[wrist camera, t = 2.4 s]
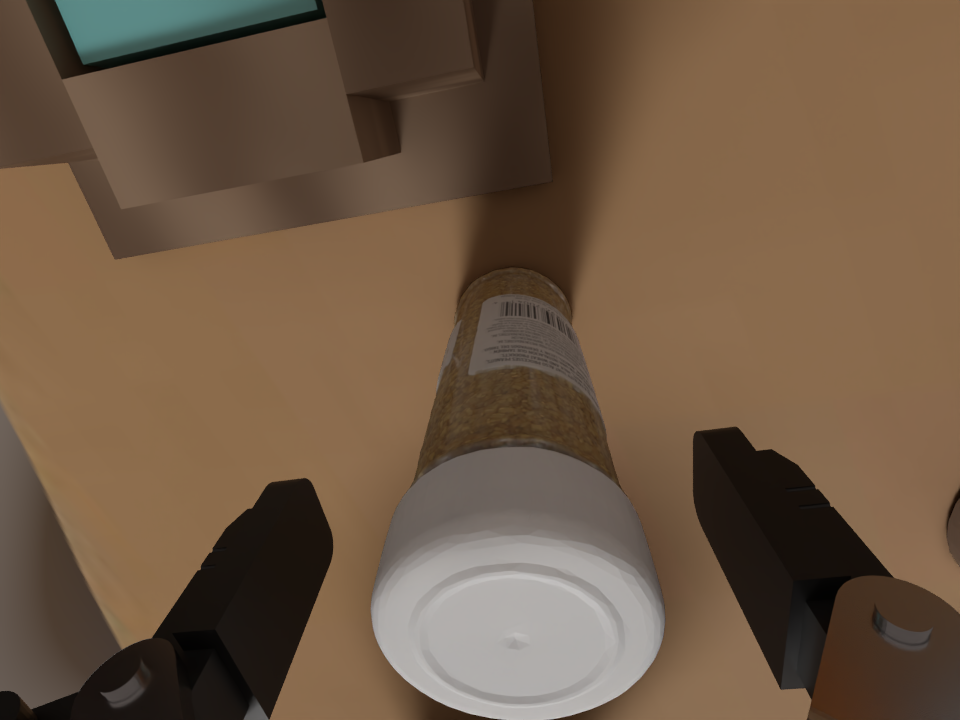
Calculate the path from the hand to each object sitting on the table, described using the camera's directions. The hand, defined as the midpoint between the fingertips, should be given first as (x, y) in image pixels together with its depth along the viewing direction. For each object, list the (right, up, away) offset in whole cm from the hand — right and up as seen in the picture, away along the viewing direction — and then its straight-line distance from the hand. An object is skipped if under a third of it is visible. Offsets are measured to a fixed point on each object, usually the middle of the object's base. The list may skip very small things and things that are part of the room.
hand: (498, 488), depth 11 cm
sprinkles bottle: (+1, +4, +9) cm, 10 cm away
